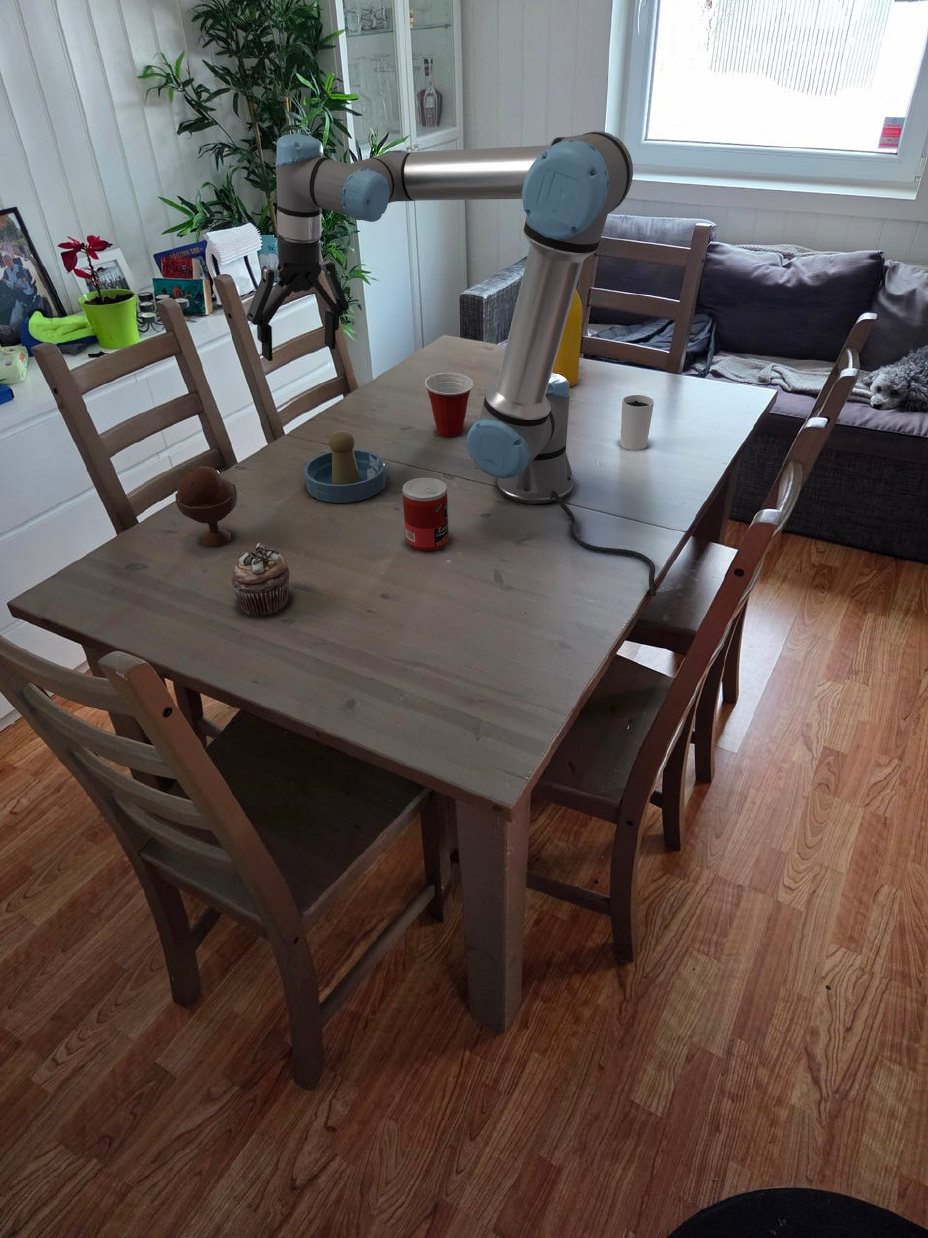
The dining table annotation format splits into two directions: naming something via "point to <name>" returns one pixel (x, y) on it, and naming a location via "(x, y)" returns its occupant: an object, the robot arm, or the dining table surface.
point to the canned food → (426, 513)
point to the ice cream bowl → (207, 501)
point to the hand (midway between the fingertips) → (299, 352)
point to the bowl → (323, 489)
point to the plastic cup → (449, 401)
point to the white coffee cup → (635, 421)
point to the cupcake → (261, 581)
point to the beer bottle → (570, 344)
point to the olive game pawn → (343, 458)
